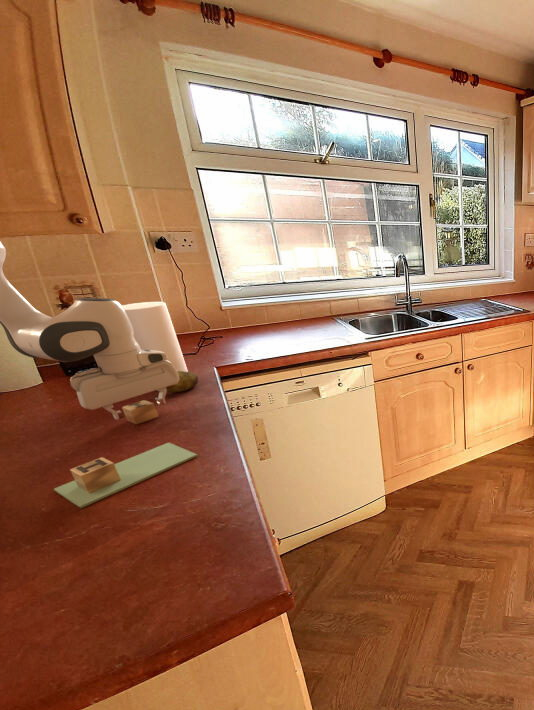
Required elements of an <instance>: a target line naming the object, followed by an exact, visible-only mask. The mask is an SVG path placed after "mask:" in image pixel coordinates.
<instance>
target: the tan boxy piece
mask: <svg viewBox="0 0 534 710" xmlns="http://www.w3.org/2000/svg"><path fill="white" fill-rule="evenodd" d="M121 410H122V412H123V415H124V417H125V418H126V421H127V422H129V423H132V424H134V425H140V424H142V423H145V422H147V421H151V420H154V419H156V418H159V414H158V411H157V409H156V406H155V403H154V402H151V401H148V400H145V399H143V400H140V401H137V402H134V403H133V402H132V403H130V404H127V405H124V406H122V407H121Z"/></svg>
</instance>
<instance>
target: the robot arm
mask: <svg viewBox="0 0 534 710" xmlns="http://www.w3.org/2000/svg"><path fill="white" fill-rule="evenodd" d="M6 257H7V250H6V247H5V246H4V244H3V242H2V241H0V325H1V326H2V328H3V330H4V333H5V335H6V338H7V341H8V342H9V344H10V345H11V347H12V348H13V349H15V351H17V352H18V353H19V354H21V355H23V356H26V357H29V358H32V359H39V360H42V359H44V360H50V361H55V362H61V363H62V362H63V363H71V362H77V361H81V360H84V359H87V358H89V357H91V356H93V358H94V360H95V362H96V364H97V367H94V368H90V369H87V370H83V371H78V372H75V374H74V375H73V376H71V377H70V379H69V384H70V386H71V388H72V390H73V391H75V392H76V396H77V399H78V402H79V404H80V406H81V407H82V408H84V409H86V410H90V411H94V410H96V409H100V408H103V409H104V410H106V411H107V412H109V413H110V414H112V417H113V419H114V420H115V421H118V420H121V419H124V418H125V415H124V412H123V411H121V410H115V409H113V408H114V404H117V403H119V402H123V401H126V400H129V399H133V398H135V397H138V396H142V395H145V394H149V393H151V392H156V391H155V390H157V391H160V392H158V397H155V398H154V400H155V402H156V405H158V406H162V405H163V406H164V405H165V404H167V402H166V399H165V398H166V395H167V393H168V392H167V389H166V387H168V386H171V385H174V384H177V383H178V381H179V376H178V373H177V371H176V369H175V367H174V365H173V364H172V363H171V362H170V361H167V354H166V353H164V352H161V351H157V350H141V349H140V346H139V344H138V343H137V342H136V340H135V338H134V334H133V333H134V331H133V328H132V325H131V323H130V320H129V318H128V316H127V314H126V312H125V310H124V309H123V307H122V304H121V303H120V302H119V301H118V300H115V299H113V298H106V297H80V298H78V299H77V298H76V299H75V300H74V302H73V303H72V304H71V305H69V306H68V308H66V309H65V310H64V311H62V312H61V313H58V314H57V315H55V316H53V317H52V316H49V315H47V314H44V313H43V312H41V311H39V310H38V309H36V308H35V307H34V306H33V305H32V304H31V302H29V301H28V300H27V298H25V297H24V296H23V295H22V294H21V293H20V292H19V291H18V290H17V289H16V288H15V286H13V285H12V284H11V282H9V280H8V279H7V277H6V276H5V274H4V270H3V266H4V263H5V261H6Z"/></svg>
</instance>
